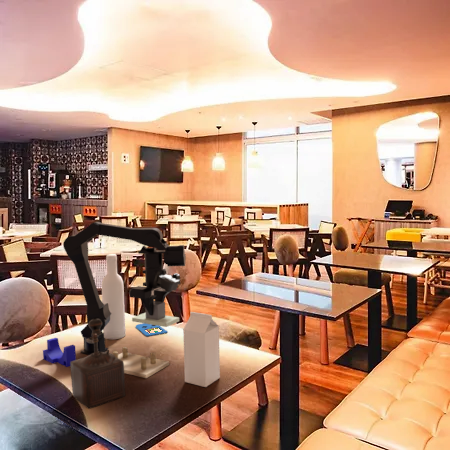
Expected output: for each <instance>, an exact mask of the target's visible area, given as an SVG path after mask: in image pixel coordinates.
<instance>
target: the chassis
mask: <svg viewBox="0 0 450 450" xmlns="http://www.w3.org/2000/svg"><path fill="white" fill-rule="evenodd" d="M121 350H122V352H121V353H119V352H118V351H112V353H111V354H113V355H115V357H117V358H118V359H120V360H122V361H123V363H124V374H126V375H130V376H135V377H139V378H144V379H148V378H149V377H151V376H152V375H154V374H156V373H158V372H159V371H162V369H165V368H166V367H168V366H170V361H168V360H164V359H159V358H157V353H156V352H151V353H150V355H149V356H146V355H140V354H135V353H131V352H129V351H128V347H127V346H123V347H122V349H121Z"/></svg>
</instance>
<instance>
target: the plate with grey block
mask: <svg viewBox="0 0 450 450" xmlns="http://www.w3.org/2000/svg"><path fill="white" fill-rule="evenodd" d="M144 307H145V306H144ZM144 309H145V312H143V313H140V314H138V315H136V316H133V317H131V321H132V322H133V323H134V322H135V323H138V324H143V323H145V324H151V325H158V326H160V327H165V328H167V327H169V326H172V325H174V324H176V323H178V322H180V317H178V316H171V315H166V302H165V301H164V302H160V301H155V300H154V309H153V315H149V313H148V311H147V309H146V307H145V308H144Z"/></svg>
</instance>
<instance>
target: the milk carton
mask: <svg viewBox="0 0 450 450" xmlns="http://www.w3.org/2000/svg"><path fill="white" fill-rule="evenodd" d="M182 329H183V334H182V335H183V358H184V359H183V360H184V361H183V364H184V367H183V369H184V382H185V383H188V384H192V385H195V386H199V387H203V388H207V387H208V386H210V385H211V384H213V383H215V382H216V381H218V379H220V378H221V369H220V368H221V366H220V359H221V358H220V326H219V325H218V324H217V322H215V320H213V315H212V314H207V313H201V312H195V311H190V316H189V318H188V320H187V322H186V323H185V324H184V327H183V328H182Z"/></svg>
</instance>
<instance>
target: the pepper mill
mask: <svg viewBox="0 0 450 450" xmlns="http://www.w3.org/2000/svg"><path fill="white" fill-rule="evenodd" d="M87 325H89V328H90V329H91V330H92V337H90V338H88V339H86V342H88V343H94V353H92V354H90V355H88V354H87V356H84V357H81V358H79V359H76V360H74V361H71V363H70V364H71V366H70V376H71V377H70V378H71V379H70V380H71V389H72V393H71V394H72V396H73V398H74V399H75V400H77V402H79V404H82V405H83V406H85V407H86V408H87V409H92V408H96V407H99V406H102V405H104V404H107V403H111V402H113V401H115V400H119V399H121V398H124V397H126V392H125V389H126V388H125V373H124V363H123V361H122V360H120V359H118V358H117V357H115V355H113V354H112V353H111V352H110V349H108V350H106V351H104V352H100V351H98V339H97V338H98V336H99V335H101V334H102V333H101V332H100V328H101V326H102V321H101V320H100V319H92V320H91V321H90V322H89V324H88V323H87Z"/></svg>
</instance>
